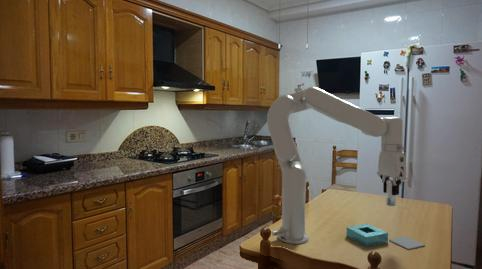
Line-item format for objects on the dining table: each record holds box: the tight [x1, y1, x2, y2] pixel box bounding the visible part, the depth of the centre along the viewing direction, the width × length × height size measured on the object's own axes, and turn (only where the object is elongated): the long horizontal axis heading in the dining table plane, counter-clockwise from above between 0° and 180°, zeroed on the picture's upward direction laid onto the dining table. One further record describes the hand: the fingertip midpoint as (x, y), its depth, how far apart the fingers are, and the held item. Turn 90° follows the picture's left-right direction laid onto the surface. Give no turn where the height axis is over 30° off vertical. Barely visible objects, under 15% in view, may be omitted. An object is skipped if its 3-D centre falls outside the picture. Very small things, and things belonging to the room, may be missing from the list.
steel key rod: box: [385, 178, 397, 207], centre depth 124 cm, size 4×4×10 cm
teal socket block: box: [345, 223, 389, 248], centre depth 127 cm, size 11×11×4 cm
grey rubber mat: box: [388, 235, 426, 251], centre depth 124 cm, size 9×9×1 cm
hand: (391, 193), depth 124 cm, fingers closed on steel key rod, 3 cm apart
